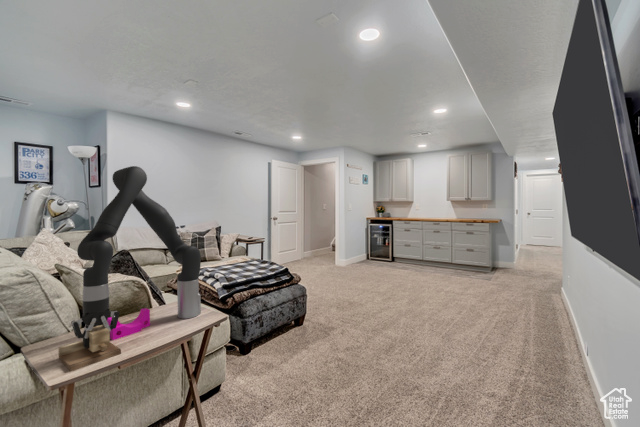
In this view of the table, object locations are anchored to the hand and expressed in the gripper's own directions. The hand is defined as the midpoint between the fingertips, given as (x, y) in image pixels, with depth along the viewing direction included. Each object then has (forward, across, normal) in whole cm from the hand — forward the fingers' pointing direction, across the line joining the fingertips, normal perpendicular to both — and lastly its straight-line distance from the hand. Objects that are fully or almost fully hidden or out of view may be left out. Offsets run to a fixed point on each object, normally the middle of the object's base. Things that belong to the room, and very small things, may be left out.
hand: (96, 344), depth 105 cm
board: (+3, +2, 0) cm, 4 cm away
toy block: (+4, -15, -11) cm, 19 cm away
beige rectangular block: (+1, 0, 0) cm, 1 cm away
